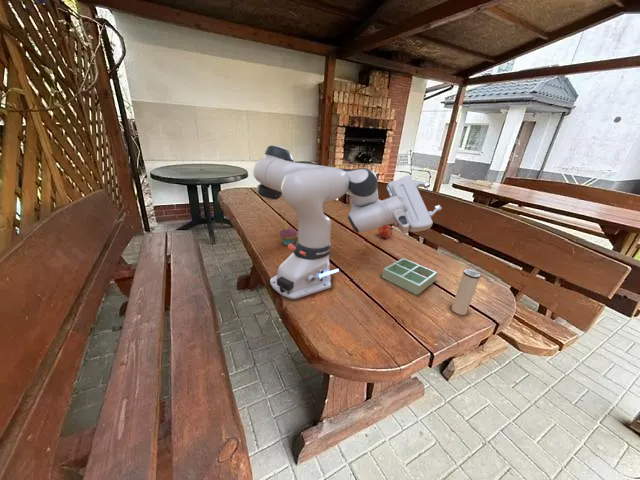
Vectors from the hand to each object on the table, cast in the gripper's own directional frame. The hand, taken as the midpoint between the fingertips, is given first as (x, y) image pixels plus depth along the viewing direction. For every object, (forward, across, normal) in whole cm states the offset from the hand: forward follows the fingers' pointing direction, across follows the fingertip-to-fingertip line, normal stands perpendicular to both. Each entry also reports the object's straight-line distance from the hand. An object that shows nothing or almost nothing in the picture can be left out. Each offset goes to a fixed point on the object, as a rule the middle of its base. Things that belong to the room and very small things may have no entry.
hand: (434, 195), depth 89 cm
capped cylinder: (-6, +37, -8) cm, 38 cm away
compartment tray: (-16, +22, -17) cm, 32 cm away
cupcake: (-60, -10, -22) cm, 65 cm away
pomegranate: (-17, -5, -46) cm, 49 cm away
